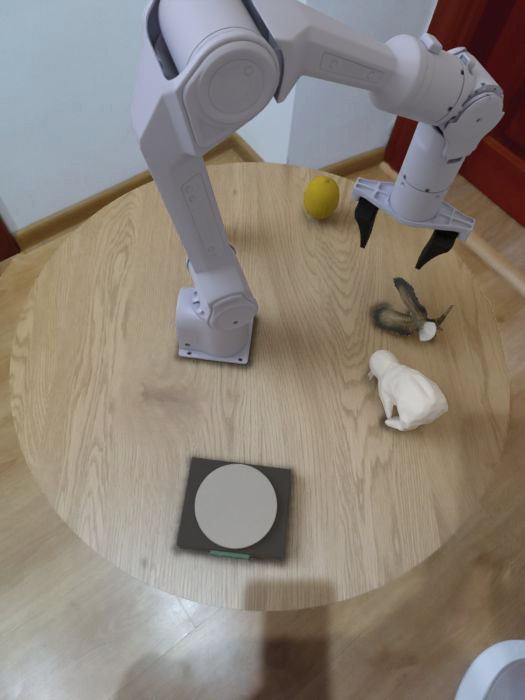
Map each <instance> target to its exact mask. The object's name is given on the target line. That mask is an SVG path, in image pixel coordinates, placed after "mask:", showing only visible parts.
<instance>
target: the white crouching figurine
mask: <svg viewBox="0 0 525 700" xmlns="http://www.w3.org/2000/svg"><path fill="white" fill-rule="evenodd" d="M368 366H369V370H370V371H368V374H367V375H366V377H369V379H368V380H369V381H371V380H373V381H375V380H374V379H372V378H374V377H375V378H376V379H377V388H378V396H379V398H380V401H381V403H382V406H383V410H384V413H385V415H386V416H385V417H386V418H387V419H386V420H385V421H384V423H385V425H386V426H387V427H389V428H392V429H396V430H398V431H400V432H407V431H410V430H416V429H417V428H418V427H420V426H421V425H429V424H432V423H433V422H434V421H435V420H436V419H437V418H440V417H441V416H442V415H443V414H446V413H447V412H448V410H449V404H448V402H447V398H446V397H445V396H446V395H444V393H443V392H442V390H441V388H440V386H439V384H437V383H436V382H434V381H433V380H431V379H430V378H429V377H427V376H426V375H425V374H424V373H422V372H420V371H419V370H418V369H414V368H412V367H411V366H409V365H406V364H401V363H400V362H399V359H398V358H397V357H396V356H395V355H394V354H393V353H392V352H391V351H389V350H386V349H379V350H377V351H375V352H374V353H372V355H371V356H370V358H369V362H368ZM394 406H395V407H396V408H397V412H398V413H397V414H398V415H395V416H393V411H394V410H393V409H394Z"/></svg>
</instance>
